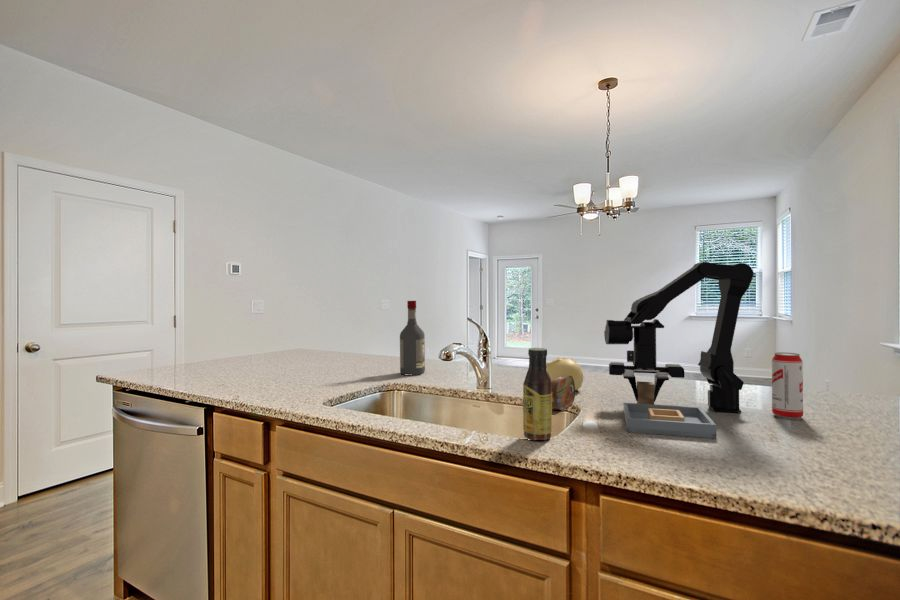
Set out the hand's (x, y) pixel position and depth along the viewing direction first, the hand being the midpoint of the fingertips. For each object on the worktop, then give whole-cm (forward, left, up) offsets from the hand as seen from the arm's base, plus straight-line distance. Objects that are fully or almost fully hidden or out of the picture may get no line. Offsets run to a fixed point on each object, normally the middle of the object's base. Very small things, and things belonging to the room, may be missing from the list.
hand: (645, 400), depth 124 cm
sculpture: (+23, -19, -2) cm, 30 cm away
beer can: (-33, 0, -2) cm, 33 cm away
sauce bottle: (+25, +34, -2) cm, 42 cm away
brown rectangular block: (0, 0, -2) cm, 2 cm away
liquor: (+85, -36, -2) cm, 92 cm away
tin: (+22, +4, -2) cm, 22 cm away
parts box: (-3, +16, -2) cm, 16 cm away
